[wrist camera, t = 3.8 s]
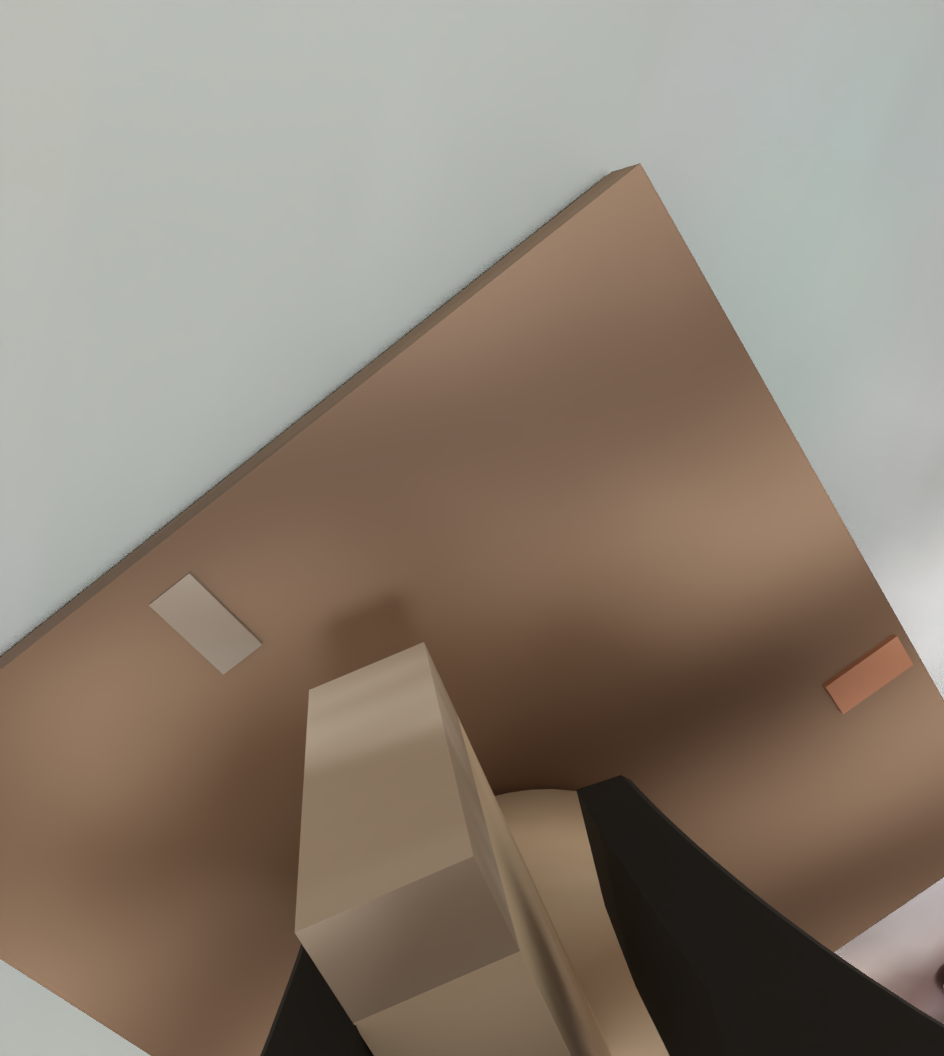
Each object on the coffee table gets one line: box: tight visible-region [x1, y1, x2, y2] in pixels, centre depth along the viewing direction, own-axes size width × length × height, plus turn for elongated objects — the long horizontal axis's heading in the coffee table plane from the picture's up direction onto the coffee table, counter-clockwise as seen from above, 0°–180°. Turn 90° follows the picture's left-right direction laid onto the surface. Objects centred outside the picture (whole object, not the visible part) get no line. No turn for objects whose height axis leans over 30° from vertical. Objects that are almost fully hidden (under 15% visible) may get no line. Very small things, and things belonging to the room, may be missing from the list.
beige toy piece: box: [295, 642, 669, 1056], centre depth 11 cm, size 11×6×6 cm, turn 21°
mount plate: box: [0, 164, 944, 1056], centre depth 15 cm, size 16×16×1 cm
